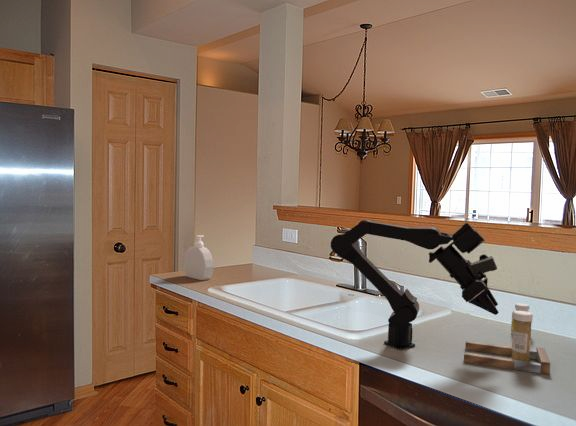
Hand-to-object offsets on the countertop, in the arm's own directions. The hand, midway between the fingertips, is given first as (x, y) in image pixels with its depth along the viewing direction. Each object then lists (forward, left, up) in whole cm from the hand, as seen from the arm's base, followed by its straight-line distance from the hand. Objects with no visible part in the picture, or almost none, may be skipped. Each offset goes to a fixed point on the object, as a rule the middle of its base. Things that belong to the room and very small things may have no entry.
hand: (496, 309), depth 130 cm
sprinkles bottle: (+3, -5, -14) cm, 15 cm away
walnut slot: (+1, -2, -13) cm, 14 cm away
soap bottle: (-31, +134, -14) cm, 138 cm away
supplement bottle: (+26, +9, -14) cm, 31 cm away
